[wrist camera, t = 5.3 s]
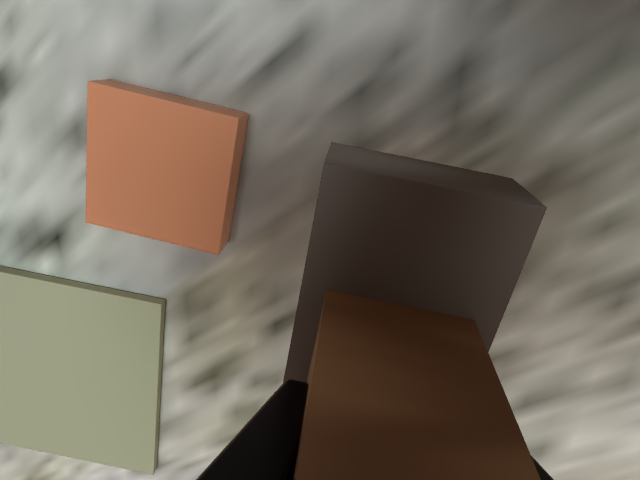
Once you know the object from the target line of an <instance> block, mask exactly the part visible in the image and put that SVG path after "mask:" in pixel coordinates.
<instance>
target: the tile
mask: <svg viewBox="0 0 640 480" xmlns="http://www.w3.org/2000/svg"><path fill="white" fill-rule="evenodd" d="M248 115H249V113H246V112H242V111H238V110H234V109H230V108H226V107H222V106H218V105H213V104H209V103H205V102H201V101H197V100H193V99H189V98H185V97H181V96H177V95H172V94H168V93H164V92H160V91H156V90H152V89H148V88H144V87H140V86H135V85H131V84H127V83H123V82H119V81H115V80H111V79H105V80H94V81H88V108H87V173H86V222H87V223H91V224H95V225H99V226H103V227H107V228H111V229H115V230H119V231H123V232H127V233H131V234H136V235H140V236H144V237H148V238H152V239H156V240H160V241H164V242H168V243H172V244H176V245H181V246H185V247H189V248H193V249H197V250H201V251H205V252H209V253H213V254H217V255H219V253H220V252H221V251H222V249H223V248H224V247H225V245H226V244H227V243H228V241H229V236H230V229H231V223H232V217H233V210H234V204H235V198H236V191H237V185H238V178H239V172H240V166H241V159H242V153H243V146H244V140H245V134H246V127H247V121H248Z"/></svg>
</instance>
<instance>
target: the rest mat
mask: <svg viewBox="0 0 640 480" xmlns="http://www.w3.org/2000/svg"><path fill="white" fill-rule="evenodd" d="M164 318H165V299H161V298H156V297H151V296H146V295H141V294H136V293H131V292H126V291H121V290H116V289H111V288H106V287H101V286H96V285H92V284H87V283H82V282H77V281H72V280H67V279H62V278H57V277H52V276H47V275H42V274H37V273H32V272H27V271H22V270H18V269H13V268H8V267H3V266H0V443H3V444H8V445H13V446H18V447H23V448H27V449H32V450H37V451H42V452H47V453H52V454H56V455H61V456H66V457H71V458H76V459H81V460H85V461H90V462H95V463H100V464H105V465H110V466H114V467H119V468H124V469H129V470H134V471H139V472H143V473H148V474H154V472H155V470H156V468H157V457H158V437H159V417H160V397H161V377H162V358H163V338H164Z"/></svg>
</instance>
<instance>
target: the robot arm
mask: <svg viewBox="0 0 640 480" xmlns="http://www.w3.org/2000/svg"><path fill="white" fill-rule="evenodd" d="M307 391H308V383H307V382H303V381H298V380H293V379H288V380H286V381H285V382H284V383H283V384H282V385H281V386H280V387H279V389H278V390H277V391H276V392H275V393H274V394H273V395H272V396H271V397H270V399H269V400H268V401H267V402H266V403H265V404H264V405H263V406H262V407H261V409H260V410H259V411H258V412H257V413H256V414H255V415H254V416H253V417H252V418H251V420H250V421H249V422H248V423H247V424H246V425H245V426H244V427H243V428H242V430H241V431H240V432H239V433H238V434H237V435H236V436H235V437H234V438H233V440H232V441H231V442H230V443H229V444H228V445H227V446H226V447H225V448H224V449H223V451H222V452H221V453H220V454H219V455H218V456H217V457H216V458H215V459H214V461H213V462H212V463H211V464H210V465H209V466H208V467H207V468H206V469H205V471H204V472H203V473H202V474H201V475H200V476H199V477H198V478H197V479H196V480H291V479H292V474H293V470H294V465H295V461H296V456H297V452H298V447H299V442H300V436H301V430H302V424H303V417H304V411H305V404H306V398H307ZM531 457H532V456H531ZM532 460H533V462H534V465H535V467H536V469H537V472H538V474H539V477H540V479H541V480H553V479H552V477H551V476H550V475H549V474H548V473H547V472H546V471H545V470H544V469H543V468H542V467H541V466H540V465H539V463H538V462H537V461H536V460H535V459H534V458H533V457H532Z"/></svg>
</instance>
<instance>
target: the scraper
mask: <svg viewBox="0 0 640 480" xmlns="http://www.w3.org/2000/svg"><path fill="white" fill-rule="evenodd" d="M546 209H547V207H546V206H544V205H543V204H542V203H541V202H540V201H539V200H537V199H536V198H535V197H534V196H533V195H531V194H530V193H529V192H528V191H527V190H525V189H524V188H523V187H522V186H521V185H520V184H518V183H517V182H516V181H515V180H514V179H512V178H508V177H503V176H498V175H493V174H488V173H483V172H478V171H473V170H468V169H463V168H458V167H453V166H448V165H443V164H438V163H433V162H428V161H423V160H418V159H413V158H408V157H403V156H398V155H393V154H388V153H383V152H377V151H372V150H367V149H362V148H357V147H352V146H347V145H342V144H337V143H331V146H330V148H329V151H328V154H327V157H326V160H325V162H324V167H323V172H322V178H321V183H320V188H319V194H318V199H317V205H316V210H315V215H314V221H313V226H312V231H311V237H310V242H309V247H308V253H307V258H306V264H305V269H304V274H303V280H302V285H301V290H300V296H299V301H298V306H297V312H296V317H295V323H294V328H293V333H292V339H291V344H290V349H289V355H288V360H287V365H286V371H285V376H284V382H285V381H286V380H288V379H293V380H298V381H303V382H307V383H308V391H307V398H306V404H305V411H304V417H303V424H302V430H301V436H300V442H299V447H298V452H297V456H296V461H295V465H294V470H293V474H292V479H291V480H541V479H540V477H539V474H538V472H537V469H536V467H535V465H534V462H533V460H532V457H531V455H530V453H529V450H528V448H527V445H526V443H525V441H524V438H523V436H522V433H521V431H520V429H519V426H518V424H517V421H516V419H515V416H514V414H513V412H512V409H511V407H510V404H509V402H508V400H507V397H506V395H505V392H504V390H503V388H502V385H501V383H500V380H499V378H498V375H497V373H496V371H495V368H494V366H493V363H492V361H491V359H490V356H489V354H488V352H489V349H490V347H491V344H492V342H493V339H494V337H495V334H496V332H497V329H498V327H499V324H500V322H501V320H502V317H503V315H504V312H505V310H506V307H507V305H508V302H509V300H510V297H511V295H512V292H513V290H514V288H515V285H516V283H517V280H518V278H519V275H520V273H521V270H522V268H523V265H524V263H525V260H526V258H527V255H528V253H529V251H530V248H531V246H532V243H533V241H534V238H535V236H536V233H537V231H538V228H539V226H540V223H541V221H542V219H543V216H544V214H545V211H546ZM284 382H283V383H284Z"/></svg>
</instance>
